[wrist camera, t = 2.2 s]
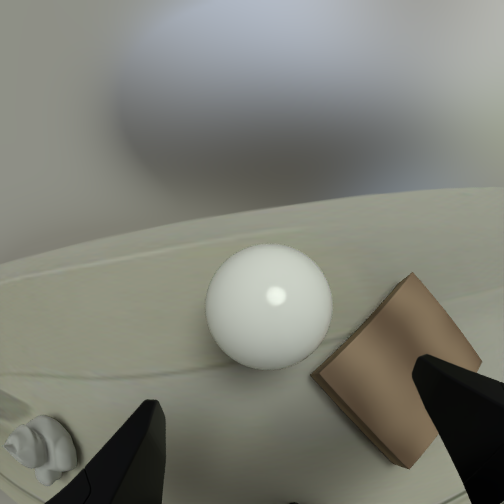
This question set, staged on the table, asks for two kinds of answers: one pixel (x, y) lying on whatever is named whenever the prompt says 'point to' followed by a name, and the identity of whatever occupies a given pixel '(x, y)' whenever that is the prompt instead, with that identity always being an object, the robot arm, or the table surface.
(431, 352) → the walnut plinth
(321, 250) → the table surface
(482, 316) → the table surface
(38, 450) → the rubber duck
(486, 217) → the table surface
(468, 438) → the robot arm
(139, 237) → the table surface
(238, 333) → the lightbulb
